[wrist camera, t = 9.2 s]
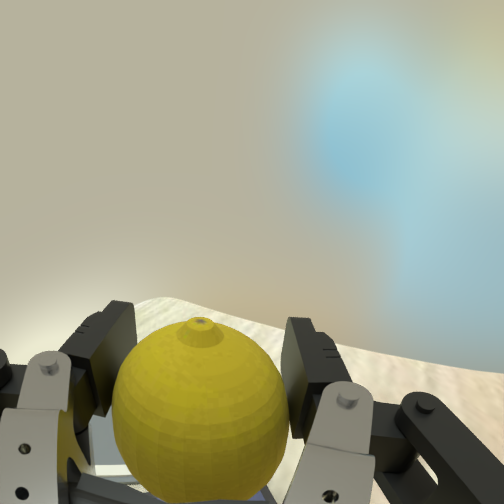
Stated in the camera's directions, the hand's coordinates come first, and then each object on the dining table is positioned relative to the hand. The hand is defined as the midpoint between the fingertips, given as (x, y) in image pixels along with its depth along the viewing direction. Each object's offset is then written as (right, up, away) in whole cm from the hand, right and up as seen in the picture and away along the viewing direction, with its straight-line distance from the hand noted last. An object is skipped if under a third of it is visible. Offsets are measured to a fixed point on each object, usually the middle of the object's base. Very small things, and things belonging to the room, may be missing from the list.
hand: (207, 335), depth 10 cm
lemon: (-1, -7, -1) cm, 7 cm away
